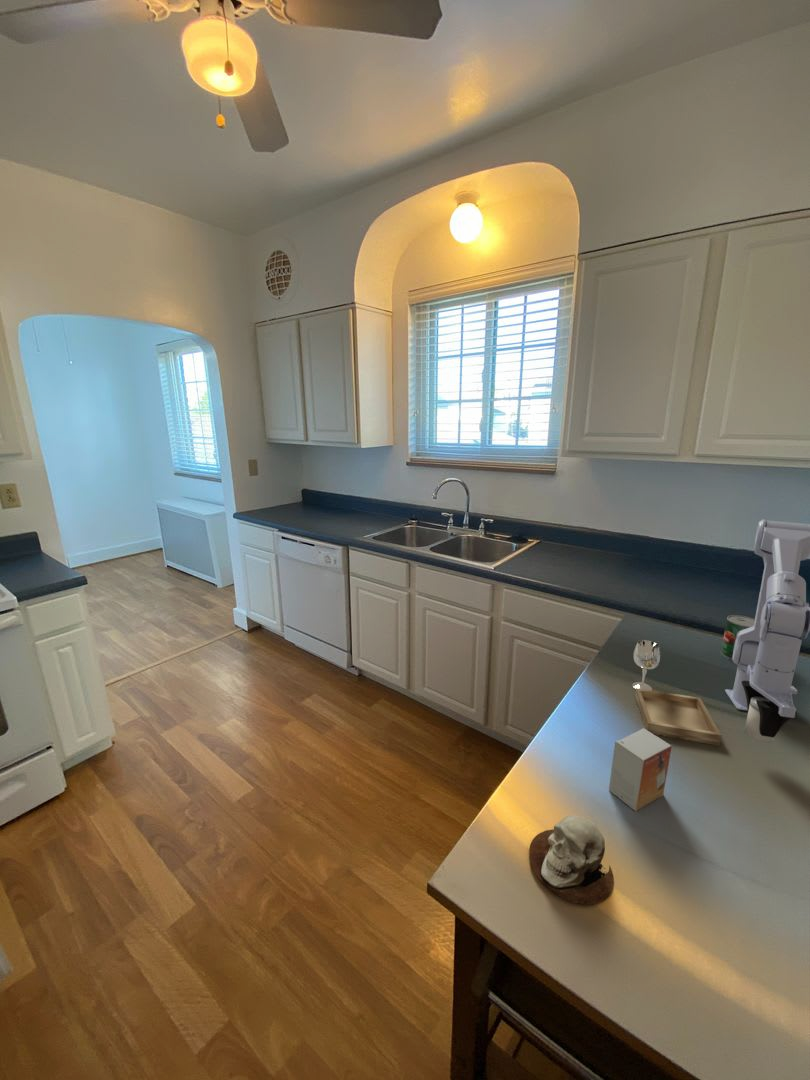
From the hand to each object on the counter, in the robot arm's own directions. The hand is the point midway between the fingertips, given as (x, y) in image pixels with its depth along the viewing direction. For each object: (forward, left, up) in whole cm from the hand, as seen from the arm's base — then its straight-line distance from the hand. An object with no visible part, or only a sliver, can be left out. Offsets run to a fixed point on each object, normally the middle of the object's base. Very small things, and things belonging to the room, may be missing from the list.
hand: (760, 726), depth 86 cm
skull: (+36, +34, -8) cm, 50 cm away
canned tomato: (-13, -46, -8) cm, 48 cm away
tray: (+12, -9, -7) cm, 17 cm away
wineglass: (+16, -21, -8) cm, 27 cm away
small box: (+24, +16, -8) cm, 30 cm away
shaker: (0, 0, -2) cm, 2 cm away
